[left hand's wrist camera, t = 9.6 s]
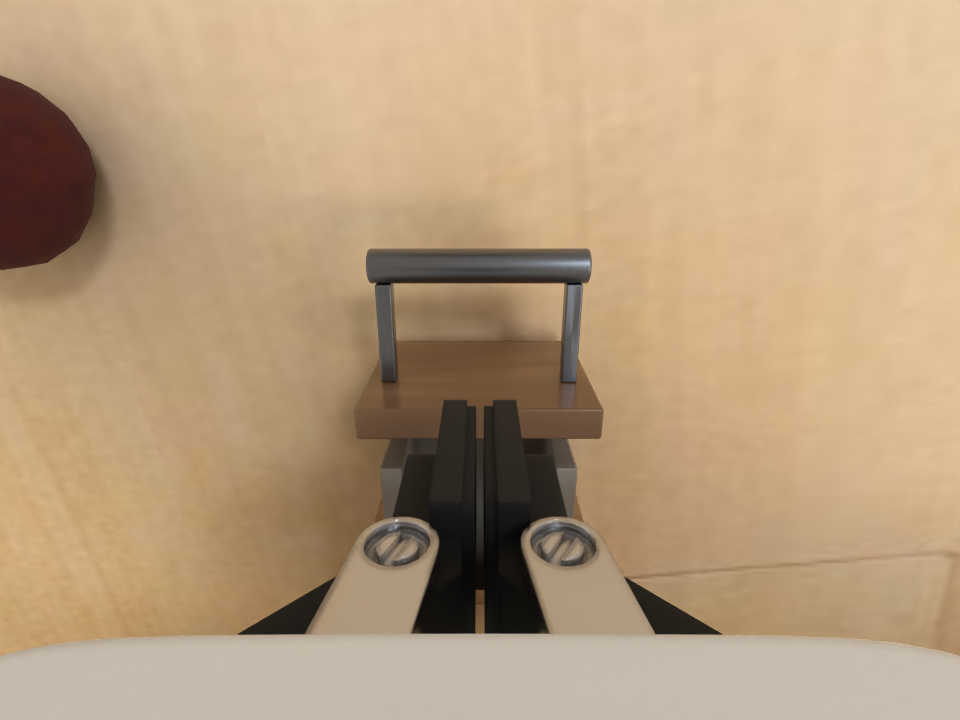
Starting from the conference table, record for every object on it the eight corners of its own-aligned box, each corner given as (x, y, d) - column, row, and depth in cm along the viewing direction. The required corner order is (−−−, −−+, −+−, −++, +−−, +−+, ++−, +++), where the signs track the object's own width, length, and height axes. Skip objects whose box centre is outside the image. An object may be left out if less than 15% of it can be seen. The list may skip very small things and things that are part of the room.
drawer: (381, 231, 24) (339, 262, 17) (577, 231, 24) (617, 262, 17) (407, 653, 33) (388, 788, 26) (550, 652, 33) (569, 788, 26)
